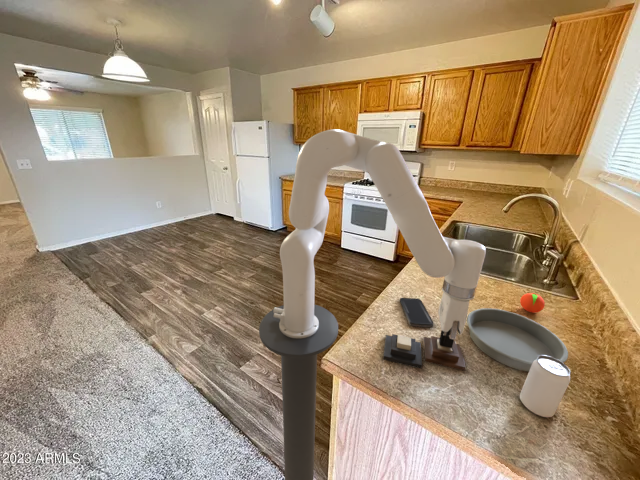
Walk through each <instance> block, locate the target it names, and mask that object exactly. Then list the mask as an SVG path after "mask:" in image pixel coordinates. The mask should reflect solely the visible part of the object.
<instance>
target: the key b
mask: <svg viewBox="0 0 640 480" xmlns="http://www.w3.org/2000/svg"><path fill="white" fill-rule="evenodd" d="M436 344H437V349H438V350H443V351H447V352H452V351H453V350H452V348H449V347H444V346H440V343H439V339H437V342H436Z"/></svg>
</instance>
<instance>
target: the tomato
mask: <svg viewBox="0 0 640 480" xmlns="http://www.w3.org/2000/svg"><path fill="white" fill-rule="evenodd" d="M519 302H520V306H521V307H522V309H523V310H525V311H527V312H528V313H536V314H537V313H539V312H540V313H541V311H543V310H544V309H545V305H546V303H545V300H544V298H543V297H542V296H541V295H539V294H537V293H535V292H527V293H525V294H523V295H521V297H520V300H519Z"/></svg>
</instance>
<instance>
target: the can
mask: <svg viewBox="0 0 640 480" xmlns="http://www.w3.org/2000/svg"><path fill="white" fill-rule="evenodd" d="M571 373H572V372H571V369H570V368H569V366H567V364H565V362H564V363H562V362H561V361H559V360H557V359H555V358H553V357H550V356H545V355H541V356H538V357H537V359H536V360H534V361H533V363H532V365H531V368H530V370H529V372H527V375H526V378H525V379H524V380H525V381H524V383H523V386H522V388H521V391H520V394H519V399H520V402H521V403H522V404H523V406H524V407H525V408H526V409H527V410H529V411H530V412H531V413H533V414H534V415H537V416H539V417H542V418H552V417H554V415H555V414H556V412H557V410H558V408H559V406H560V404H561V402H562V400H563V398H564V396H565V394H566V391H567V389H568V388H569V385H570V383H571Z"/></svg>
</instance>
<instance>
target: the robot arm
mask: <svg viewBox="0 0 640 480" xmlns="http://www.w3.org/2000/svg"><path fill="white" fill-rule="evenodd" d="M343 166H346V167H349V168H352V169H355V170H360V171H363V172H366V173H368V175H369V177H370V179H371V181H372V182H373V185H374V186H375V187H376V189H377V191H378V193H379V195H380V196H381V198H382V199H383V201H384V203H385V205H386V207H387V209H388V210H389V212H390V214H391V216H392V219H393V221H394V224H396V226H397V228H398V229H399V232H400V234H401V235H402V237H403V239H404V241H405V244H406V246H407V247H408V249H409V251H410V252H411V254H412V256H413V258H414V260H415V261H416V263H417V265H418V267H419V268H420V269H421V271H422V272H423V273H424V274H425V275H426V276H429V277H431V278H437V279H439V278H440V279H441V278H443V282H442V288H441V291H442V295H441V299H440V303H439V306H438V309H437V312H438V313H437V314H438V321H439V325H440V329H441V330H440V335H439V338H440V339H439V343H440V346H444V347H449V348H452V346H453V342H454V341H456V339H457V334H458V335H462V334H463V333H464V329H465V327H466V323H467V316H468V312H469V306H470V301H472V300H474V299H475V296H476V293H477V289H478V284H479V280H480V278H481V273H482V269H483V265H484V262H485V258H486V253H487V249H486V246H484V245H483V244H482V243H480V242H478V241H475V240H470V239H455V238H450V237H446V236H443V234H442V233H441V231H440V229H439V227H438V225H437V223H436V221H435V219H434V217H433V214H432V212H431V210H430V206H429V204H428V202H427V199H426V197H425V196H424V193H423V192H422V190H421V188H420V186H419V184H418V183H417V181H416V179H415V176H414V175H413V174H412V171H411V170H410V167H409V166H408V164H407V162H406V160H405V159H404V156H403V154H402V152H401V151H400V149H399V148H398V147H397V145H395V144H394V143H391V142H386V141H382V140H377V139H373V138H370V137H366V136H363V135H360V134H356V133H353V132H349V131H346V130H343V129H336V128H333V129H327V130H324V131H320V132H318V133H316V134H314V135H312V136H311V137H310V138H308V139H307V140H306V141H305V142H304V144H303V145H302V146H301V148H300V150H299V152H298V155H297V159H296V165H295V172H294V178H293V183H292V189H291V195H290V202H289V208H288V218H289V221H290V222H289V223H290V224H291V225H292V226H293V227H294V228H295V229H294V230H293V231H292V232H290V233H289V234H288V235H287V236H286V237H285V238H284V239H283V241H282V243H281V244H280V248H279V259H280V263H281V269H282V285H283V287H282V288H283V290H282V291H283V305H284V309H280V308H277V307H278V306H277V307H276V306H274V308H273V309H274V310H273V309H272V310H273V313H274V316H273V317H274V318H280V323H279V327H280V330H281V332H282V333H283V334H284V335H286V336H288V337H291V338H297V339H299V338H306V337H309V336H311V335H313V334H314V333H315V332H316V331H317V330H318V327H319V321H318V319H317V317H316V316H315V315H314V305H315V295H316V294H315V293H316V291H315V290H316V270H315V264H314V260H315V256H316V254H317V252H319V250H320V248H321V247H322V244H323V242H324V237H325V233H326V228H327V224H328V219H329V213H330V204H329V203H330V202H329V199H328V197H327V196H326V195H325V192H326V189H327V184H328V176H329V173H330V170H331V169H334V168H339V167H343ZM280 314H281V315H280Z"/></svg>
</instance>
